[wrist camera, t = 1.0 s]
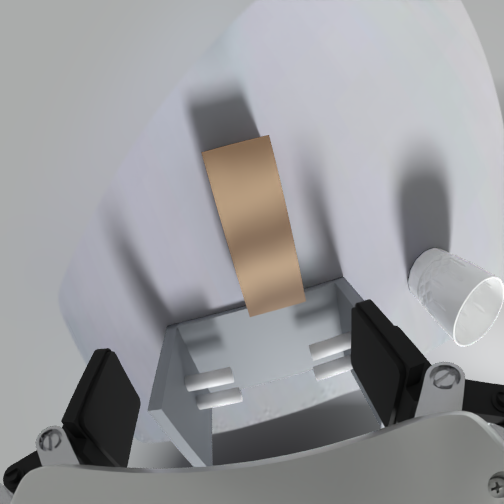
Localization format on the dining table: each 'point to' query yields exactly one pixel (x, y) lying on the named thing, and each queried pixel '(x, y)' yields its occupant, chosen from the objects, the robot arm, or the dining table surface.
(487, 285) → the white cup
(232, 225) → the shelf board
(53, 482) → the robot arm
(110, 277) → the dining table surface
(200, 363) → the peg frame
